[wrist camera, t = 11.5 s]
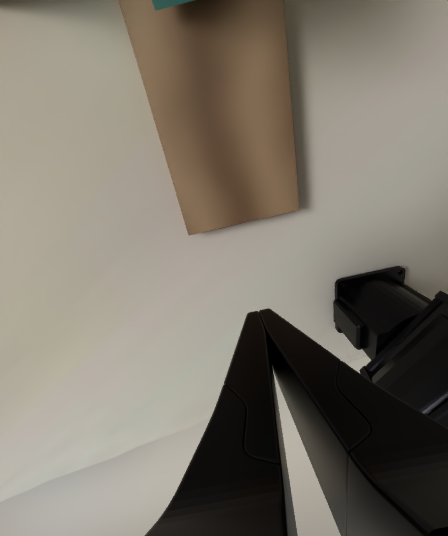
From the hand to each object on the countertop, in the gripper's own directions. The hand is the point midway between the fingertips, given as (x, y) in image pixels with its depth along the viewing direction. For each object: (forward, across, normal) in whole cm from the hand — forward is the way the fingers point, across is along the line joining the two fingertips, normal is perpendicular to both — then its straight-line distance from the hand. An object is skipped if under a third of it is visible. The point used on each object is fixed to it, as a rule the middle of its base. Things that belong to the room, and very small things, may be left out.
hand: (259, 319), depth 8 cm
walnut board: (+12, -1, -11) cm, 16 cm away
